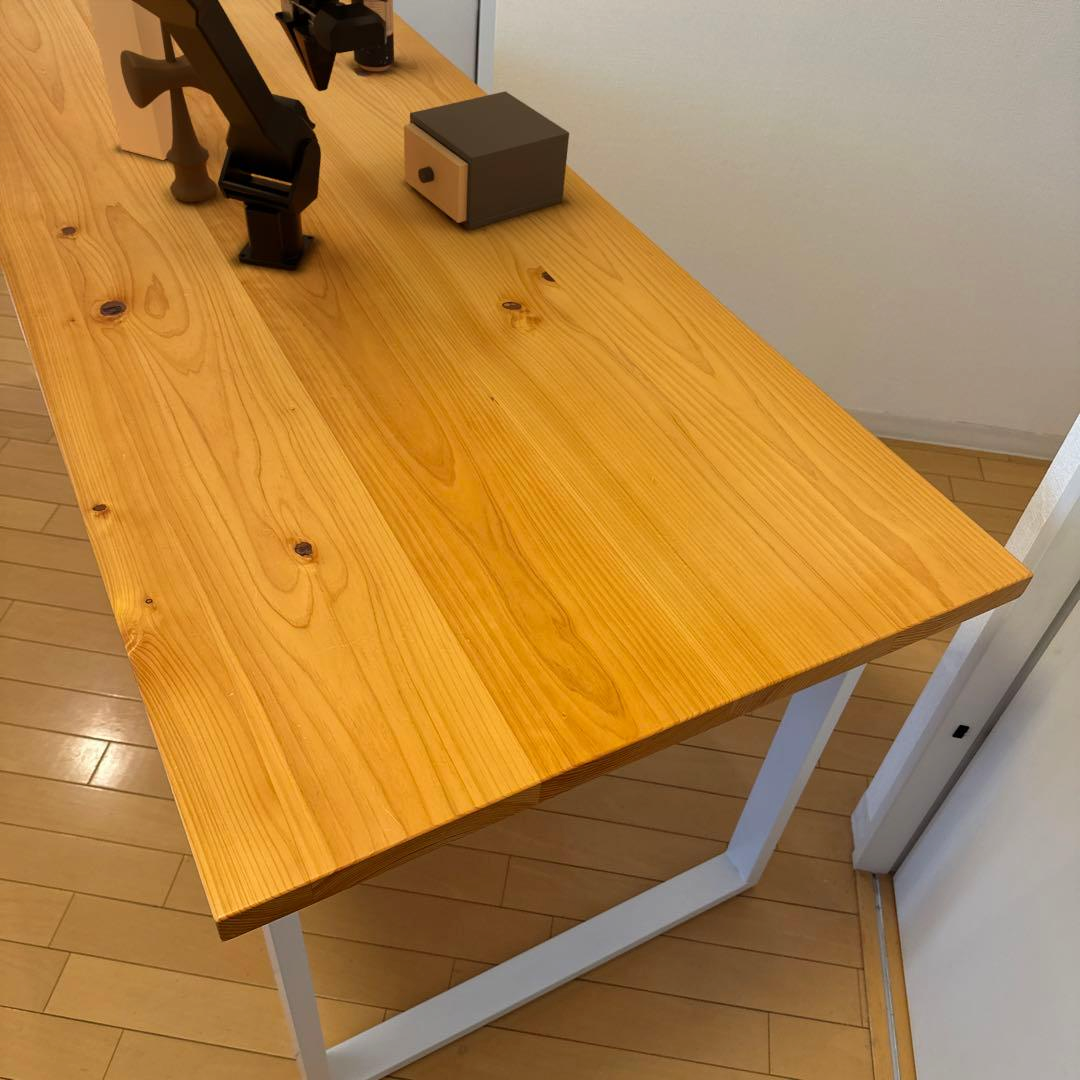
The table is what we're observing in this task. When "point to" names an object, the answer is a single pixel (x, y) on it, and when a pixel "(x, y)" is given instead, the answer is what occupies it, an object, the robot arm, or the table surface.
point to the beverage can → (383, 54)
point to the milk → (115, 32)
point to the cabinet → (501, 154)
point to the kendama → (150, 82)
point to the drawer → (436, 172)
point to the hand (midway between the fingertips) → (321, 89)
